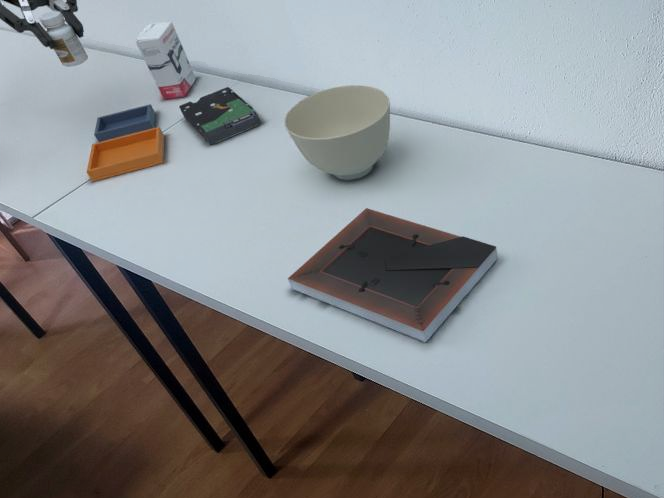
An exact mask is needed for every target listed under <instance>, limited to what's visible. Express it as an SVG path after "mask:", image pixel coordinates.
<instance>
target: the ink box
mask: <svg viewBox="0 0 664 498" xmlns="http://www.w3.org/2000/svg"><path fill="white" fill-rule="evenodd" d="M135 44H136V46H137V48H138V50H139V52H140V54H141V56H142V58H143V60H144V61H145V64H146V66H147V68H148V70H149V72H150V74H151V76H152V78H153V80H154V82H155V84H156V86H157V88H158V90H159V93H160V94H161V96H162V98H163V100H170V99H177V98H184V97H187V95H188V93H189V91H190V90H191V87H192V86H193V85H194V83H195V81H196V79H197V77H196V75H195V73H194V69H193V67H192V65H191V63H190V60H189V58H188V56H187V53H186V51H185V49H184V46H183V44H182V42H181V40H180V38H179V35H178V33H177V31H176V28H175V26H174V23H173V22H172V21H165V22H151V23H148V24H147V25H146V26H145V27H144V28H143V30H141V32H140V33H139V35H138V36H137V38H136V40H135Z"/></svg>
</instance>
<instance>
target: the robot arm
mask: <svg viewBox="0 0 664 498" xmlns="http://www.w3.org/2000/svg"><path fill="white" fill-rule="evenodd" d="M5 3H7V4H10V5H12V6H15V7H16V8H19V9H20V11H21V13H22V16H23V18H21V17H19V16H18V15H17V14H15V13H14V12H12V11H11V10H10V9H9V8H7V7H6V6H5ZM41 7H47V8H49V9H50V10H51V11H52V12H54V11H59V12H60V13H61V14H62V16H63V18H64V20H65V23H66V24H68V25H70V26H71V27H72V28H73V30H74V32H75V34H76V35H77V37H78V39H81V38H83V37H84V33H85V29H84V25H83V23H82V22H81V21H80V19H79V18H78V17H77V16H76V15H75V13H76V12H78V11H79V6H78V1H77V0H65V1H64V0H0V20H1V21H2V22H3V23H5V24H6V25H8V26H9V27H11V28H12V29H13V30H14V31H16V32H17V33H19V34H21V33H24V32H26V31H28V32H31V33H32V34H33V35H34V36H35V37H36V38H37V40H38V41H39V42H40V43H41V44H42V46H43V47H45V48H49V49H50V50H54V48H56V47H55V43H54V41H53V39H52V38H51V37H50V36H49V34H48V33H47V32H46V31H47V30H46V28H45V27H44V26H43V25H42V24H41V22H40V21H39V22H38V21H36V19H35V16H34V14H33V11H35V10H36V9H38V8H41Z"/></svg>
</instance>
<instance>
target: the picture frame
mask: <svg viewBox="0 0 664 498" xmlns="http://www.w3.org/2000/svg"><path fill="white" fill-rule="evenodd" d="M498 259H499V258H498V250H497V246H496V245H492V244H489V243H486V242H483V241H479V240H477V239H473V238H470V237H467V236H460V235H456V234H454V233H450V232H448V231H447V232H446V231H444V230H441V229H437V228H434V227H430V226H427V225H423V224H420V223H417V222H414V221H410V220H407V219H404V218H400V217H397V216H393V215H390V214H387V213H384V212H382V211H381V212H380V211H377V210H374V209H370V208H368V207H366V208H365V209H364V210H362V211H361V212H360V213H359V214H358V215H357V216H356V217H354V218H353V219H352V221H350V222H349V223H348V224H347V225H346V226H344V228H342V229H341V230H340V231H339V232H338V233H337V234H336V235H335V236H333V237H332V238H331V239H330V240H329V241H328V242H327V243H325V244H324V245H323V246H322V247H321V248H320V249H319V250H318V251H317V252H316V253H314V254H313V255H312V256H311V257H309V259H308V260H307V261H305V263H303V264H302V265H301V266H300V267H299V268H298V269H296V270H295V271H294V272H293V273H292V274H290V276H289V277H287V281H288V283H289V285H290V287H291V289H292V290H294V291H295V292H298V293H301V294H303V295H306V296H309V297H311V298H314V299H316V300H318V301H321V302H324V303H326V304H329V305H331V306H334V307H336V308H339V309H341V310H344V311H346V312H349V313H351V314H354V315H356V316H358V317H362V318H364V319H366V320H369V321H371V322H374V323H376V324H380V325H381V326H384V327H387V328H389V329H392V330H394V331H396V332H399V333H402V334H404V335H406V336H408V337H409V336H410V337H412V338H414V339H417V340H418V341H419V340H420V341H421V342H424V343H427V341H428V340H429V339H430V338H431V337H432V335H433V334H434V333H435V332H436V331H437V330H438V328H439V327H440V326H441V325H442V324H443V323H444V321H445V320H446V319H447V318H448V317H449V316H450V315H451V314H452V312H454V310H455V309H456V308H457V306H459V304H460V303H462V301H463V300H464V298H465V297H466V296H467V295H468V294H469V292H470V291H471V290H472V289H473V288H474V287H475V285H477V283H478V282H479V281H480V280H481V279H482V277H484V275H485V273H487V272H488V270H489V269H490V268H491V267H492V266H493V265H494V263H496V261H497V260H498Z"/></svg>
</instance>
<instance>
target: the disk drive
mask: <svg viewBox="0 0 664 498" xmlns="http://www.w3.org/2000/svg"><path fill="white" fill-rule="evenodd" d="M179 109H180V112H181V114H182V116H183V118H184V119H185V120H186V121H187V122H188V123H189V125H191V127H193V128H194V130H195V131H196V132H197V133H198V134H199V135H200V136H201V137H202V138H203V140H204V141H205V142H207V144H209V145H212V144H216V143H219V142H221V141H224V140H225V139H229V138H231V137H234V136H235V135H238V134H240V133H243V132H245V131H247V130H250V129H252V128H255V127H257V126H259V125H260V124H262V122H261V119H260V117H259V114H258V113H257V112H256V110H255V109H254V108H253V106H251V105H250V104H249V103H248V102H247V101H245V100H244V99H243V98H242V97H240V95H238V94H237V93H236V92H235V91H234V90H233V89H232V88H230V87H229V86H227V87H224V88H222V89H219V90H216V91H214V92H212V93H208V94H206V95H204V96H201V97H199V99H198V100H197V101H196V102H191V101H188V102H185V103H183V104H180V105H179Z"/></svg>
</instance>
